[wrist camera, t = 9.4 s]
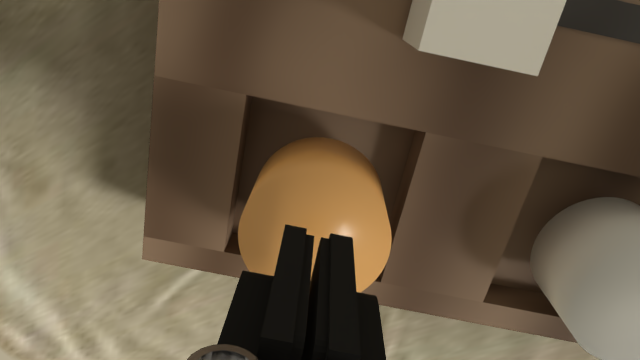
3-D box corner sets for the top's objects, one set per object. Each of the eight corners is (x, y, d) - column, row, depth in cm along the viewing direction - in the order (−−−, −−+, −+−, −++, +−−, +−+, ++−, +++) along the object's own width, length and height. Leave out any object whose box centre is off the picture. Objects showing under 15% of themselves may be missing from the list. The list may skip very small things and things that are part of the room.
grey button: (682, 211, 16) (757, 257, 13) (625, 314, 17) (679, 375, 15) (559, 185, 15) (607, 227, 13) (512, 292, 17) (545, 350, 14)
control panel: (841, -69, 16) (997, -88, 12) (633, 302, 22) (694, 366, 18) (217, -216, 15) (176, -287, 11) (176, 212, 21) (141, 260, 17)
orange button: (396, 151, 15) (410, 187, 12) (365, 263, 17) (370, 316, 14) (266, 124, 15) (249, 154, 12) (247, 240, 17) (229, 289, 14)
